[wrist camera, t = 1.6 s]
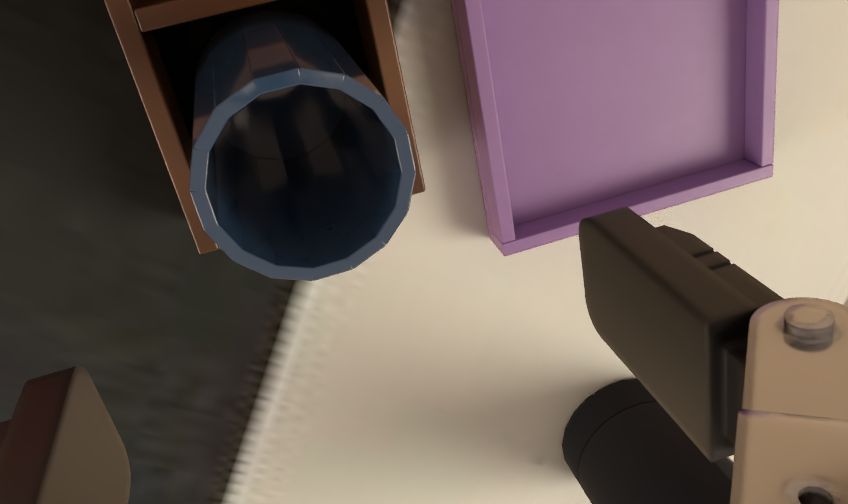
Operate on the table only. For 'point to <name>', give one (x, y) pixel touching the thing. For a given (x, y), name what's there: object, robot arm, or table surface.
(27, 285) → the table surface
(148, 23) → the rack
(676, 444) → the black water bottle
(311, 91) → the tumbler
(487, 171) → the tray
